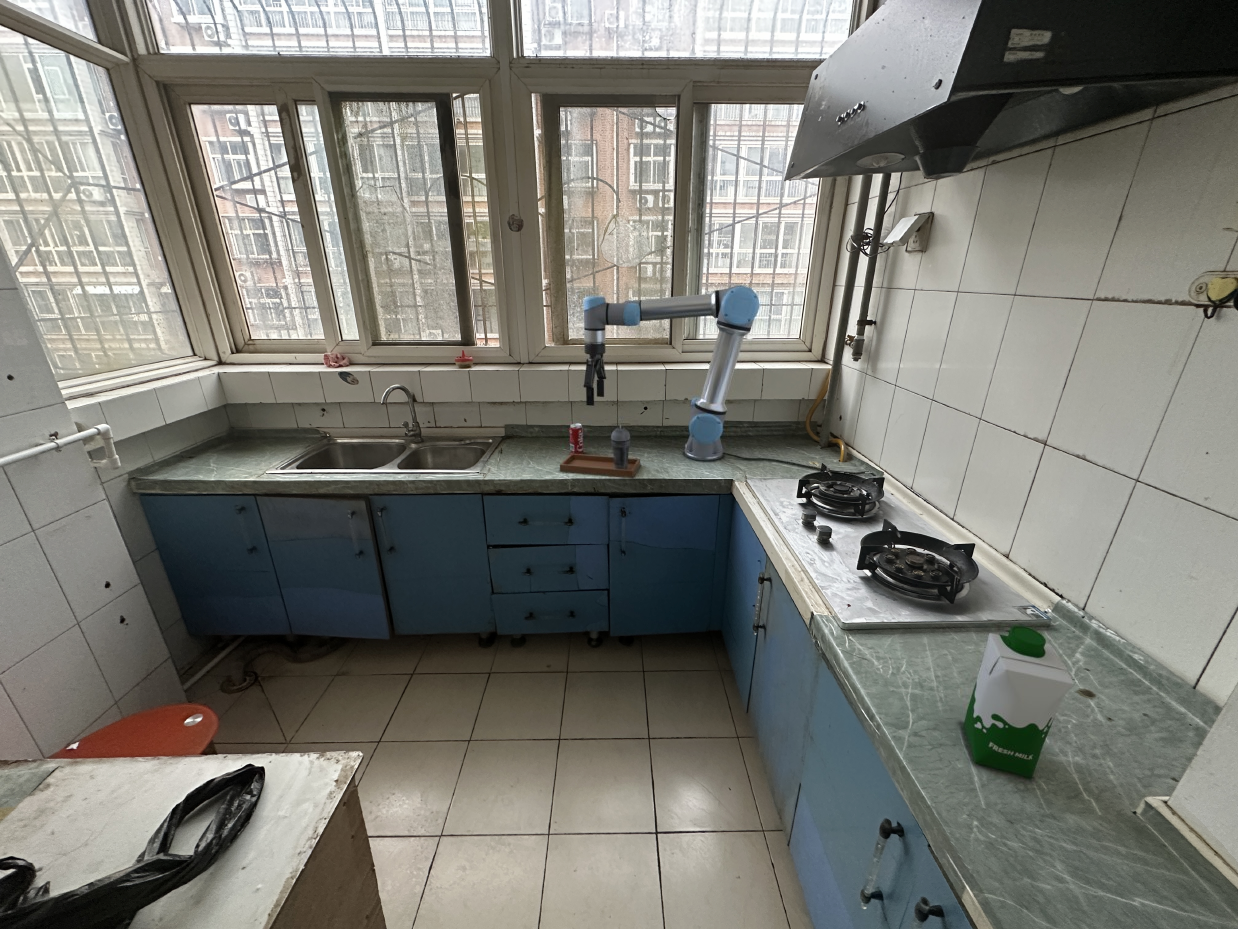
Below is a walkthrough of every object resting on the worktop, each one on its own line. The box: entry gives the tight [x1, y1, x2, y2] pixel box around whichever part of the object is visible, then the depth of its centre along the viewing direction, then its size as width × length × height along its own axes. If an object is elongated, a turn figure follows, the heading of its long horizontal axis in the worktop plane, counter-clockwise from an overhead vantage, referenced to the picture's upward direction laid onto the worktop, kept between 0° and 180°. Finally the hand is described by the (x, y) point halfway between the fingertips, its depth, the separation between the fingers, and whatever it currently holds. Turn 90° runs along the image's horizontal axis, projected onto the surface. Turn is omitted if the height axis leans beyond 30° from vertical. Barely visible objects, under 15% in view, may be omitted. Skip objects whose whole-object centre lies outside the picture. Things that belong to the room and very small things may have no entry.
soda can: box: [569, 423, 584, 454], centre depth 200 cm, size 5×5×12 cm
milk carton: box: [963, 625, 1075, 779], centre depth 72 cm, size 9×9×20 cm
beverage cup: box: [610, 416, 631, 470], centre depth 181 cm, size 7×7×20 cm
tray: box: [559, 452, 641, 478], centre depth 186 cm, size 28×13×3 cm, turn 75°
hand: (595, 400), depth 184 cm, fingers open, 13 cm apart
